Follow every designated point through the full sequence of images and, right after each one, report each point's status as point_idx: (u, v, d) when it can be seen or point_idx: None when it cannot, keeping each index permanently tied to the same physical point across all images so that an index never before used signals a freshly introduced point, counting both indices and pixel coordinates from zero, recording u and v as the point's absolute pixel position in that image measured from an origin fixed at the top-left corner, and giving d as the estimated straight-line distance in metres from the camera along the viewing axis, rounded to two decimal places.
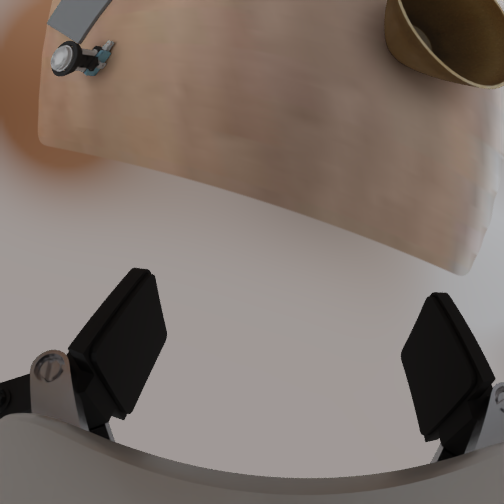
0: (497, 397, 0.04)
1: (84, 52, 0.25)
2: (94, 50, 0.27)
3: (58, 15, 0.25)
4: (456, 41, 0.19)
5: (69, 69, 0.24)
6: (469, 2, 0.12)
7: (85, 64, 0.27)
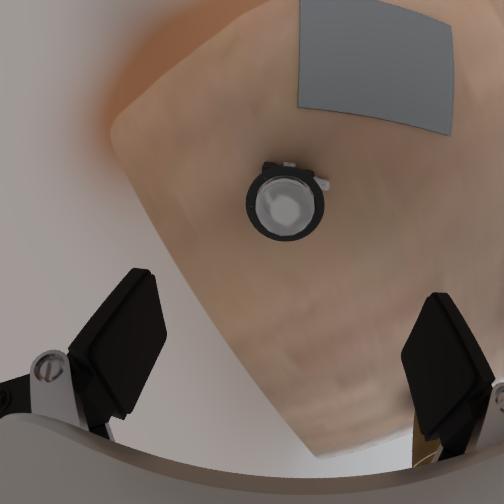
0: (497, 397, 0.04)
1: None
2: (308, 188, 0.23)
3: (327, 10, 0.17)
4: None
5: (271, 236, 0.20)
6: None
7: None
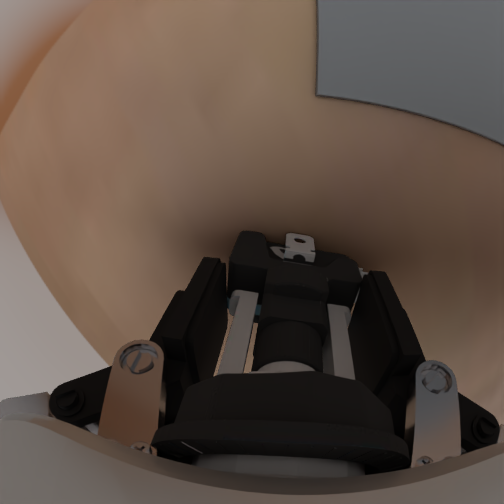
0: (424, 378, 0.05)
1: None
2: None
3: None
4: None
5: None
6: None
7: None
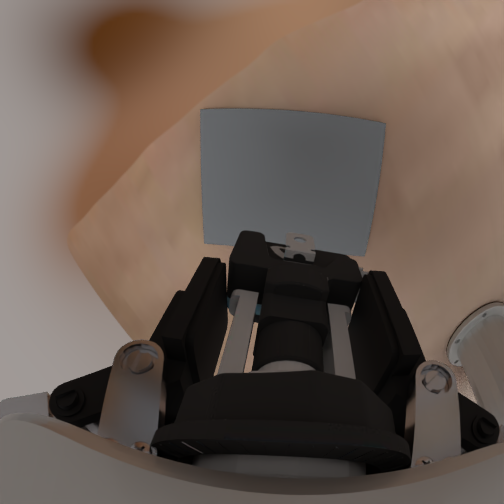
0: (424, 378, 0.05)
1: None
2: (345, 321, 0.09)
3: (228, 136, 0.22)
4: None
5: None
6: None
7: None
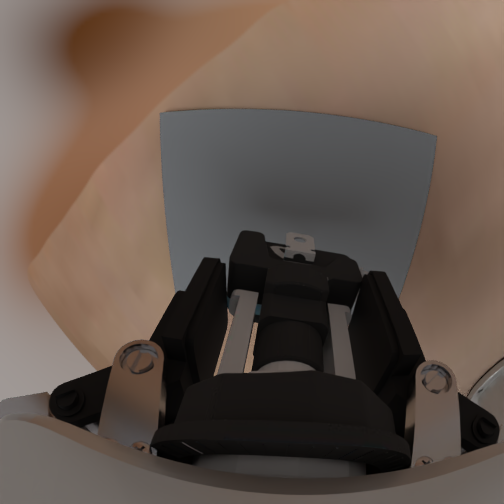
0: (424, 378, 0.05)
1: None
2: (345, 321, 0.09)
3: (201, 153, 0.15)
4: None
5: None
6: None
7: None
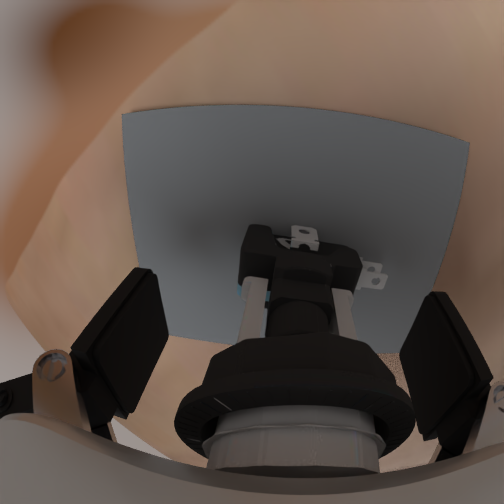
0: (495, 396, 0.04)
1: None
2: None
3: (172, 163, 0.11)
4: None
5: None
6: None
7: None
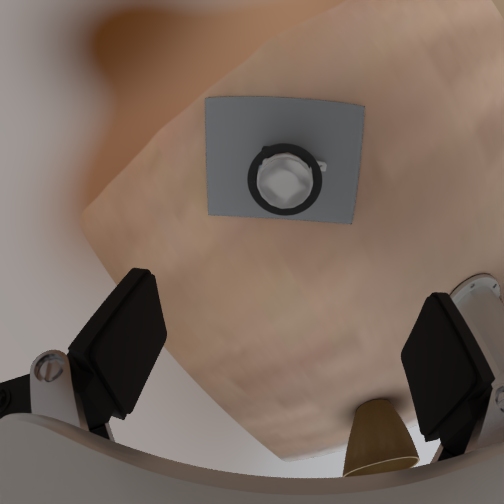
0: (497, 397, 0.04)
1: None
2: None
3: (229, 120, 0.26)
4: None
5: (272, 211, 0.20)
6: None
7: None
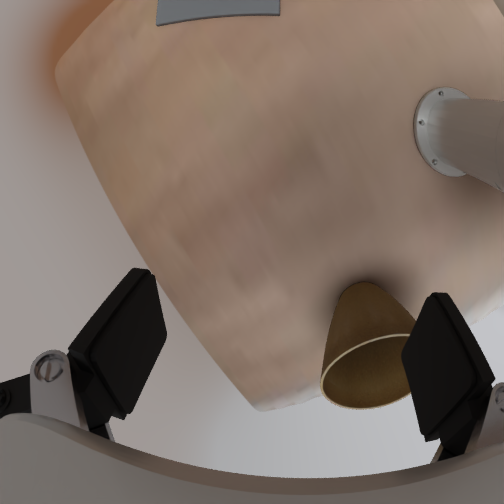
0: (497, 397, 0.04)
1: None
2: None
3: None
4: (386, 338, 0.38)
5: None
6: None
7: None
